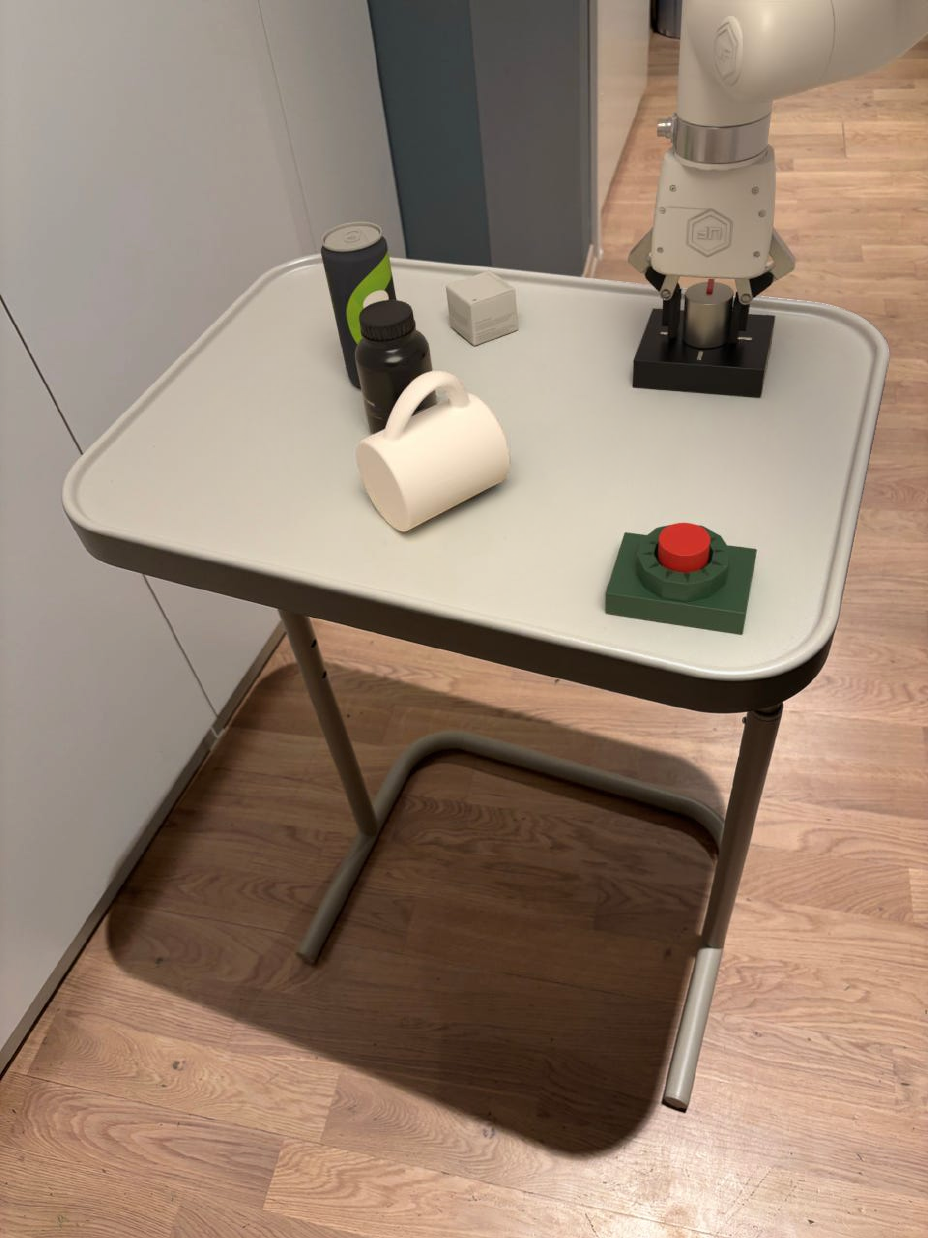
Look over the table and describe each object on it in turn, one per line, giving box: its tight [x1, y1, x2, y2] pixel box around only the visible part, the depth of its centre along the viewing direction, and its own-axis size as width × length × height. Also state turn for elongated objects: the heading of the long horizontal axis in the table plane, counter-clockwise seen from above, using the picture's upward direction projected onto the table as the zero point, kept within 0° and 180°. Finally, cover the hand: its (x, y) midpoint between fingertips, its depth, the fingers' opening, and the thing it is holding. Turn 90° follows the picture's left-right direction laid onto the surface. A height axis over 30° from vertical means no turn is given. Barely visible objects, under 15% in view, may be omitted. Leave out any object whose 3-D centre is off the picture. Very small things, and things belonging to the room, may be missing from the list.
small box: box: [445, 270, 519, 347], centre depth 100 cm, size 6×6×5 cm
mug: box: [355, 370, 511, 532], centre depth 78 cm, size 8×10×12 cm
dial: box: [682, 278, 735, 348], centre depth 89 cm, size 4×4×5 cm
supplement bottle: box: [355, 299, 438, 435], centre depth 86 cm, size 7×7×12 cm
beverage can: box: [320, 221, 397, 389], centre depth 92 cm, size 6×6×15 cm
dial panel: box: [632, 307, 776, 398], centre depth 91 cm, size 12×10×3 cm
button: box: [658, 522, 710, 573], centre depth 68 cm, size 4×4×2 cm
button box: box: [604, 524, 758, 635], centre depth 70 cm, size 10×7×4 cm
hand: (703, 332), depth 90 cm, fingers open, 5 cm apart
